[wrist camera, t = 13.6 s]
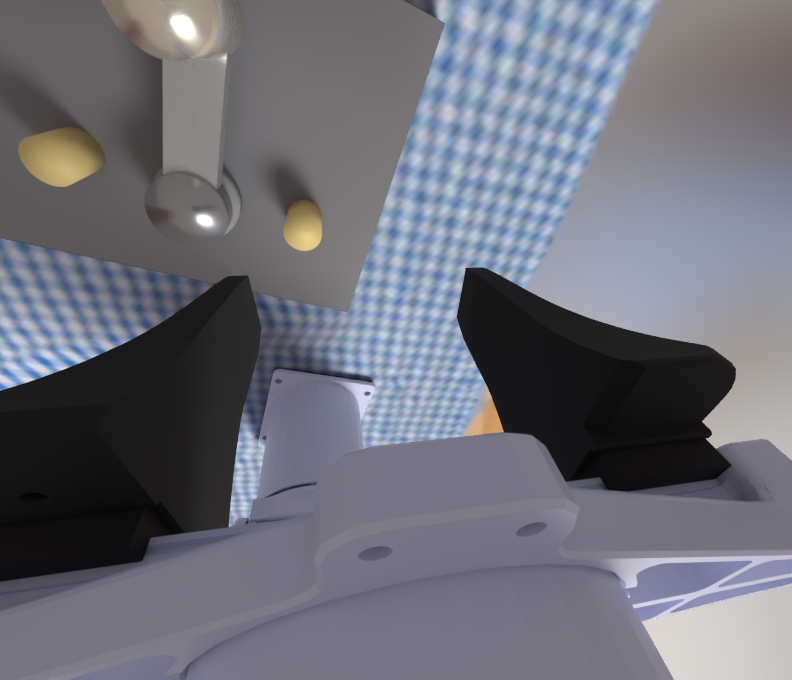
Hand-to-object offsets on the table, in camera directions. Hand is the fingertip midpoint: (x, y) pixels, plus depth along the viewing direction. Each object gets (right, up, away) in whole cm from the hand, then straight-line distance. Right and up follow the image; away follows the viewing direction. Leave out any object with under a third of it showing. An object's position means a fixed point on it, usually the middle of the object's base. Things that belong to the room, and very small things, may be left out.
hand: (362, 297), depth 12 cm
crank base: (-8, +8, +4) cm, 13 cm away
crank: (-7, +7, +2) cm, 10 cm away
